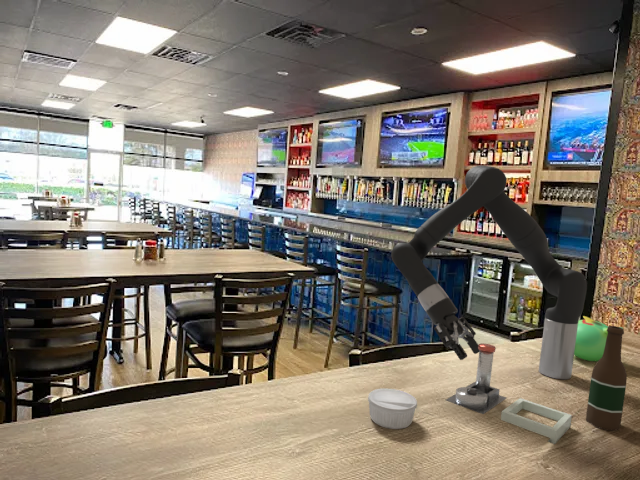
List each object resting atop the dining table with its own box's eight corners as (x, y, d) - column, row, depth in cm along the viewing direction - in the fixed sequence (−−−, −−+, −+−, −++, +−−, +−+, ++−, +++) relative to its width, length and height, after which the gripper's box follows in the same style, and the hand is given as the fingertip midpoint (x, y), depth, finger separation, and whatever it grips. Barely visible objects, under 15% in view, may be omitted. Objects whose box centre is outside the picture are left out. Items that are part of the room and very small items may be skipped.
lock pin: (477, 391, 129) (482, 342, 128) (492, 396, 126) (498, 346, 125) (470, 395, 126) (475, 345, 125) (485, 400, 123) (491, 349, 122)
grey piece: (470, 389, 133) (471, 374, 132) (506, 401, 126) (508, 385, 126) (444, 403, 122) (446, 387, 121) (482, 418, 115) (484, 401, 115)
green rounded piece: (567, 348, 181) (572, 310, 180) (619, 360, 171) (625, 319, 170) (558, 359, 167) (563, 317, 165) (615, 372, 157) (621, 328, 156)
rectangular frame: (518, 409, 122) (520, 397, 122) (570, 427, 114) (571, 415, 114) (500, 423, 113) (501, 411, 113) (554, 444, 105) (556, 430, 105)
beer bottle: (627, 433, 113) (641, 333, 111) (590, 428, 114) (604, 329, 112) (613, 419, 120) (626, 325, 118) (580, 414, 122) (592, 321, 120)
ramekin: (384, 435, 103) (386, 411, 103) (356, 413, 113) (358, 391, 112) (425, 427, 108) (427, 404, 108) (395, 406, 118) (397, 385, 118)
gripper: (433, 299, 127) (470, 353, 121) (458, 294, 138) (493, 343, 131) (414, 314, 131) (448, 367, 125) (439, 308, 142) (472, 357, 135)
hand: (471, 355), depth 128 cm, fingers open, 8 cm apart
